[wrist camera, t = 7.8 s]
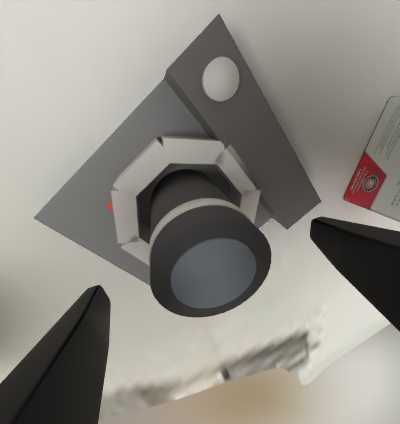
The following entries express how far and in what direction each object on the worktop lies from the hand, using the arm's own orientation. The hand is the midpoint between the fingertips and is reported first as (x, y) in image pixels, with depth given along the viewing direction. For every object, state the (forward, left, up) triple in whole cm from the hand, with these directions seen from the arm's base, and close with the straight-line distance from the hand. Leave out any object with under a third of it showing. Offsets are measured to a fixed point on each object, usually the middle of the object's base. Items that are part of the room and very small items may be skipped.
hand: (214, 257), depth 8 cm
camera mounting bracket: (0, 0, -7) cm, 7 cm away
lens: (0, 0, -6) cm, 6 cm away
